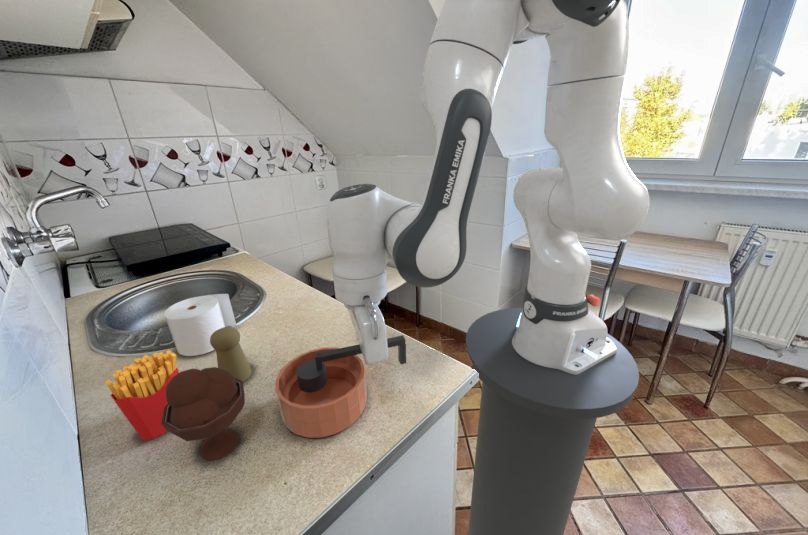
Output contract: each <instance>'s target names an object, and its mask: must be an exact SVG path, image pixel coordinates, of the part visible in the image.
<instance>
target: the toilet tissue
mask: <svg viewBox="0 0 808 535" xmlns="http://www.w3.org/2000/svg"><path fill="white" fill-rule="evenodd" d="M163 314H164V319H165V321H166V323H167V327H168V329H169V332H170V334H171V337H172V340H173V343H174V346H175V348H176V351H177V352H178V354H180V355H181V356H184V357H196V356H201V355H205V354H208V353H210V352H213V351H214V350H215V349H214V348H213V347H212V346H211V343H210V337H211V335H212V334H213V333H214V332H215V331H216V330H218V329H221V328H224V327H237V321H236V318H235V313H234V311H233V307H232V303H231V300H230V295H229V293H215V294H212V293H211V294H207V295H206V294H205V295H199V296H194V297H189V298H186V299H184V300H180V301H178V302H176V303H174V304H172V305H170V306H169V307H168V308H167V309H166V310H165V311H164V312H163Z"/></svg>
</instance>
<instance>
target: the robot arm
mask: <svg viewBox="0 0 808 535" xmlns="http://www.w3.org/2000/svg"><path fill="white" fill-rule="evenodd" d="M629 28H630V27H629V10H628V4H627V2H626V1H625V0H445V1H444V3H443V6H442V8H441V10H440V13H439V16H438V18H437V21H436V24H435V27H434V29H433V32H432V35H431V39H430V41H429V46H428V49H427V52H426V55H425V59H424V64H423V68H422V75H421V80H420V89H419V100H420V103H421V106H422V108H423V110H424V112H425V114H426V115H427V117H428V118H429V119H430V121H431V123H432V126H433V130H434V134H435V151H434V154H433V159H432V163H431V166H430V171H429V175H428V177H427V183H426V186H425V190H424V194H423V197H422V202H421V204H420V203H418V202H414V201H410V200H406V199H402V198H400V197H399V198H398V197H396V196H394V195H392V194H390V193H388V192H385V191H384V190H383V189H381V188H380V187H378V186H377V185H376V184H372V183H359V184H353V185H350V186H347V187H343V188H342V189H339V190H337V191H335V193H333V194H332V196H331V197H330V199H329V201H328V204H327V215H326V216H327V220H326V221H327V222H326V223H327V237H328V246H329V249H330V251H331V253H332V258H333V261H332V262H333V263H332V267H331V270H332V271H331V272H332V278H333V279H332V280H333V289H334V296H335V299H336V300H337V301H338V302H340V304H343V305H344V307H345V308H346V309H347V312H348V314H349V318H350V321H351V323H352V327H353V330H354V333H355V336H356V339H357V342H358V344H359V345H360V348H361V351H362V354H361V355H362V357H363V360H364V363H365V364H366V365H368V366H369V365H374V364H379V363H383V362H386V361H387V360H388V358H389V348H388V345H387V338H388V336H387V335H388V334H387V327H386V321H385V319H384V315H383V313H382V311H381V309H380V308H379V305H380V304H381V301H382V300H384V299H385V297H386V296H387V295H388V274H387V272H388V271H387V264H389V263H390V262H393V263H394V265H395V267H396V269H397V272H398V274H399V276H400V277H401V278H402V279H403V280H404V281H405V282H406V283H408V284H409V285H412V286H413V287H417V288H423V289H424V288H426V289H427V288H434V287H437V286H440V285H443V284H445V283H446V282H448V281H449V280H451V279H452V278H453V277H454V276H455V275H456V274H457V273H458V272H459V270H460V269H461V267H462V266H463V264H464V261H465V259H466V255H467V254H466V253H467V246H468V245H467V243H468V242H467V228H468V227H467V226H468V219H469V215H470V209H471V207H472V202H473V199H474V196H475V192H476V188H477V184H478V181H479V176H480V174H481V173H480V172H481V169H482V165H483V162H484V158H485V154H486V151H487V146H488V143H489V138H490V133H491V128H492V120H493V108H494V107H493V106H494V102H495V99H496V95H497V91H498V88H499V85H500V82H501V79H502V76H503V74H504V70H505V68H506V64H507V62H508V58H509V55H510V52H511V48H512V47H513V45H518V44H522V43H525V42H527V41H530V40H534V39H537V38H541V37H544V38H545V41H546V42H547V43H546V44H547V45H548V49H549V55H550V59H549V66H548V73H547V84H546V97H545V114H544V128H543V129H544V130H543V132H544V137H545V140H546V141H547V143H548V144H550V145H551V146H552V147H553V148H554V151H556V153H557V155H558V157H559V160H560V163H561V167H559V166H545V167H537V168H532V169H529V170H527V171H525V172H524V173H523V174H522V175H521V176H520V177H519V178H518V180H517V182H516V183H515V186H514V188H513V195H512V197H513V198H512V199H513V203H514V206H515V208H516V209H517V211H518V212H519V213H520V215H521V217H522V219H523V222H524V225H525V229H526V233H527V237H528V243H529V250H530V252H529V254H530V261H529V269H528V270H529V271H528V279H527V284H526V286H525V287H524V292H523V297H522V308H523V310H522V313H521V314H520V316H519V319H518V322H517V327H516V332H515V334H514V336H513V338H512V345H513V347H514V349H515V351H516V352H517V353H518V354H519V355H521V356H522V357H523V358H525V359H526V360H528V361H530V362H532V363H534V364H537V365H540V366H544V367H548V368H554V369H559V370H562V371H564V372H567V373H570V374H574V375H577V374H580V373H581V372H583V371H585V370H587V369H589V368H590V367H592V366H594V365H596V364H597V363H599V362H601V361H603V360H604V359H606V358H608V357H610V356H612V355H613V354H615V353H616V352H617V348H616V346H615V344H614V343H613V342H612V341H611V340H610V339H609V338H608V337H607V333H608V327H607V324H606V323H605V322H604V320H603V319H602V318H600V317H599V316H598V315H597V314H595V312H593V311H591V309H589V304H590V305H591V306H592V307H597V306H599V304H600V303H601V298H600V297H598V296H595V295H594V294H592V293H591V294H586V292H587V289H588V288H587V287H588V284H589V279H590V276H591V271H592V270H591V269H592V260H591V257H590V255H589V253H587V251H586V250H585V249H584V248H583V246H582V244H581V242H580V239H579V237H578V235H580V236H582V237H586V238H590V239H601V240H609V241H610V240H611V241H619V240H623V239H626V238H628V237H629V236H631V235H633V234H634V233H636V232H637V231H638V230H639V228H640V227H642V225H643V224H644V223H645V221H646V220H647V217H648V215H649V212H650V208H651V207H650V206H651V199H650V194H649V191H648V189H647V187H646V186H645V184H644V183H642V182H641V180H639V178H637V177H636V175H635V174H634V172H633V171H632V170H631V168H630V167H629V164H628V163H627V160H626V157H625V155H624V151H623V147H622V142H621V137H620V136H621V135H620V120H621V110H622V102H623V93H624V87H625V79H626V74H627V67H628V66H627V65H628V55H629V38H630V37H629Z"/></svg>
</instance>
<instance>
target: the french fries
mask: <svg viewBox="0 0 808 535" xmlns="http://www.w3.org/2000/svg"><path fill="white" fill-rule="evenodd" d="M177 356H178V355H177V354H176V353H175V352H172V351H171V350H170V349H169V350H165V353H164V352H163V351H160V352H154V353H152V356H149V355H148V354H145V355H142V358H141V357H138V358H135V359H134V361H135V362H133V363H130V364H129V365H125V366H123V367H122V369H123V370H122V369H121V368H120V369H118V370H116V371H115V373H113V374H112V376H113V378H114V380H115V381H116V383H113V382H112V380H110V378H108V379H107V380H105V381H104V384H105V385H106V386H107V388H108V389H109V390H110V392H111V394H110V398H111V399H112V400H113V401H114V403H115V404H116V405H117V407H118V408H119V410H120V411H121V413H122V414H123V415H124V416H125V418H126V420H128V422H129V424H130V425H131V426H132V428H133V429H134V430H135V432H136V433H137V435H138V436H139V437H140V439H141V440H142V441H143V442H146V441H151V440H154V439H156V438H158V437H159V436H161V435H163V434H165V433H166V432H168V431H167V430H166V429H165V428H164V427H163V425H162V424H161V422H162V417H163V411H164V407H165V406H166V405H167V404H168V402H167V399H166V387H167V385H168V383H169V382H170V380H171V379H172V377H174V376H175V375H177V374H178V373H179V372H180V371H179V368H178V367H177Z"/></svg>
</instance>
